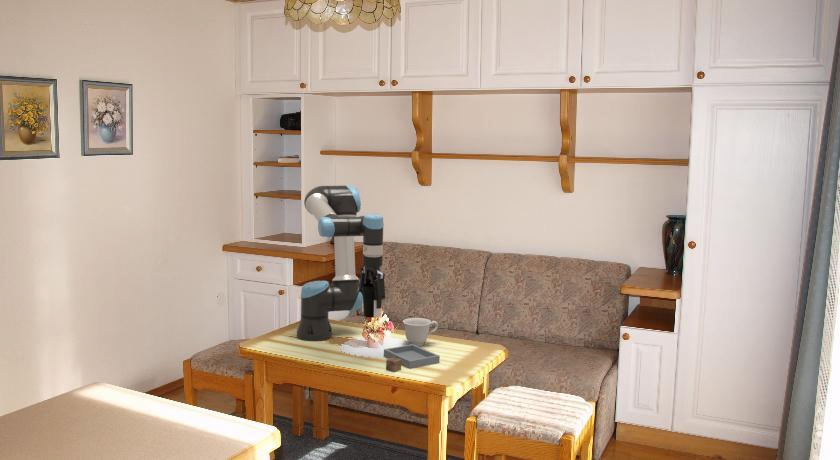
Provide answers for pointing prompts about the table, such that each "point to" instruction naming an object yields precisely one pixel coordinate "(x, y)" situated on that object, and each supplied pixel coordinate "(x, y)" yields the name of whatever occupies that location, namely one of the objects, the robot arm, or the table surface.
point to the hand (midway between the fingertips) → (371, 313)
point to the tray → (412, 355)
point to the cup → (368, 300)
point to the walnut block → (393, 364)
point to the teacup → (418, 330)
